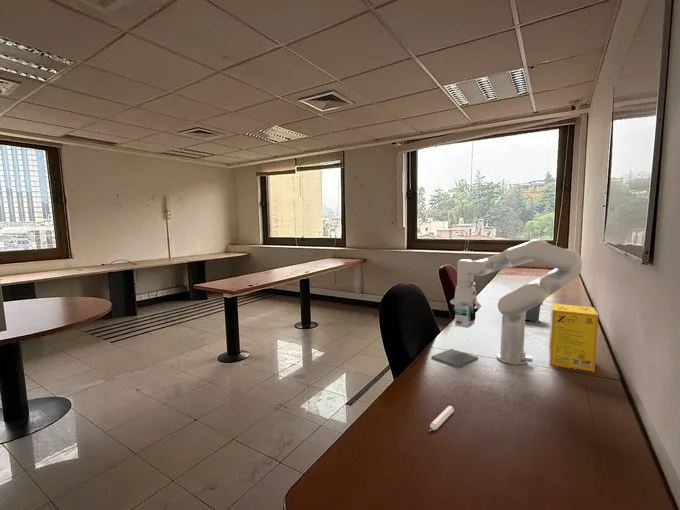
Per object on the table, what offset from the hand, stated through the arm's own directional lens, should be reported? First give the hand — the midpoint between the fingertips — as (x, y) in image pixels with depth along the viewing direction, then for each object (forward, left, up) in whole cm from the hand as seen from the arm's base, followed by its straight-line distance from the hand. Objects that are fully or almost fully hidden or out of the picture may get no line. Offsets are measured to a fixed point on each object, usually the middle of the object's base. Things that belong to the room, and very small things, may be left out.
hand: (464, 318), depth 170 cm
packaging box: (-39, -23, -16) cm, 48 cm away
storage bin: (+7, -83, -16) cm, 85 cm away
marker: (-31, +64, -16) cm, 73 cm away
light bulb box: (0, 0, -3) cm, 3 cm away
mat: (-4, +15, -16) cm, 22 cm away
